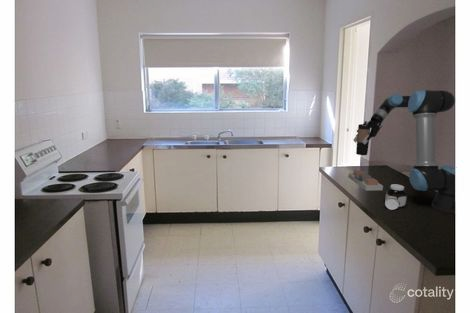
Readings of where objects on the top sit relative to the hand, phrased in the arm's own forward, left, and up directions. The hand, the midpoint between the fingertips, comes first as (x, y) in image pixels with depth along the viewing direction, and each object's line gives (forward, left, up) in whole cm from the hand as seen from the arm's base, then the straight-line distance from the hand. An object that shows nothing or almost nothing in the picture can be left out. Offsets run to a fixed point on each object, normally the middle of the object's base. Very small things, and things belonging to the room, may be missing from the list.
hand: (358, 142), depth 229 cm
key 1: (-1, -3, -24) cm, 24 cm away
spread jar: (-40, +28, -27) cm, 56 cm away
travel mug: (-1, -3, -9) cm, 9 cm away
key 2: (-15, +8, -24) cm, 30 cm away
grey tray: (-8, +2, -27) cm, 28 cm away
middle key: (-8, +2, -24) cm, 26 cm away
